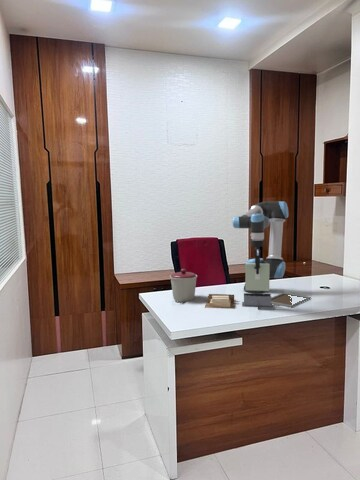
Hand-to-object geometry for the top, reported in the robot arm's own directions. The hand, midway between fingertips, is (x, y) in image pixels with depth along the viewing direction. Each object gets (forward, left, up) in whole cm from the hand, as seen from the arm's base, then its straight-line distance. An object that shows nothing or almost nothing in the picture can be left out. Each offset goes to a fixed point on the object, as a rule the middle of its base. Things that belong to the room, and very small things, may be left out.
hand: (257, 278), depth 212 cm
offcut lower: (+16, -16, -16) cm, 27 cm away
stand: (0, 0, -18) cm, 18 cm away
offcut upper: (+16, -16, -14) cm, 26 cm away
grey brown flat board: (-24, +6, -18) cm, 31 cm away
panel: (0, 0, -7) cm, 7 cm away
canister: (+19, -44, -18) cm, 51 cm away
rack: (+13, -18, -18) cm, 28 cm away
